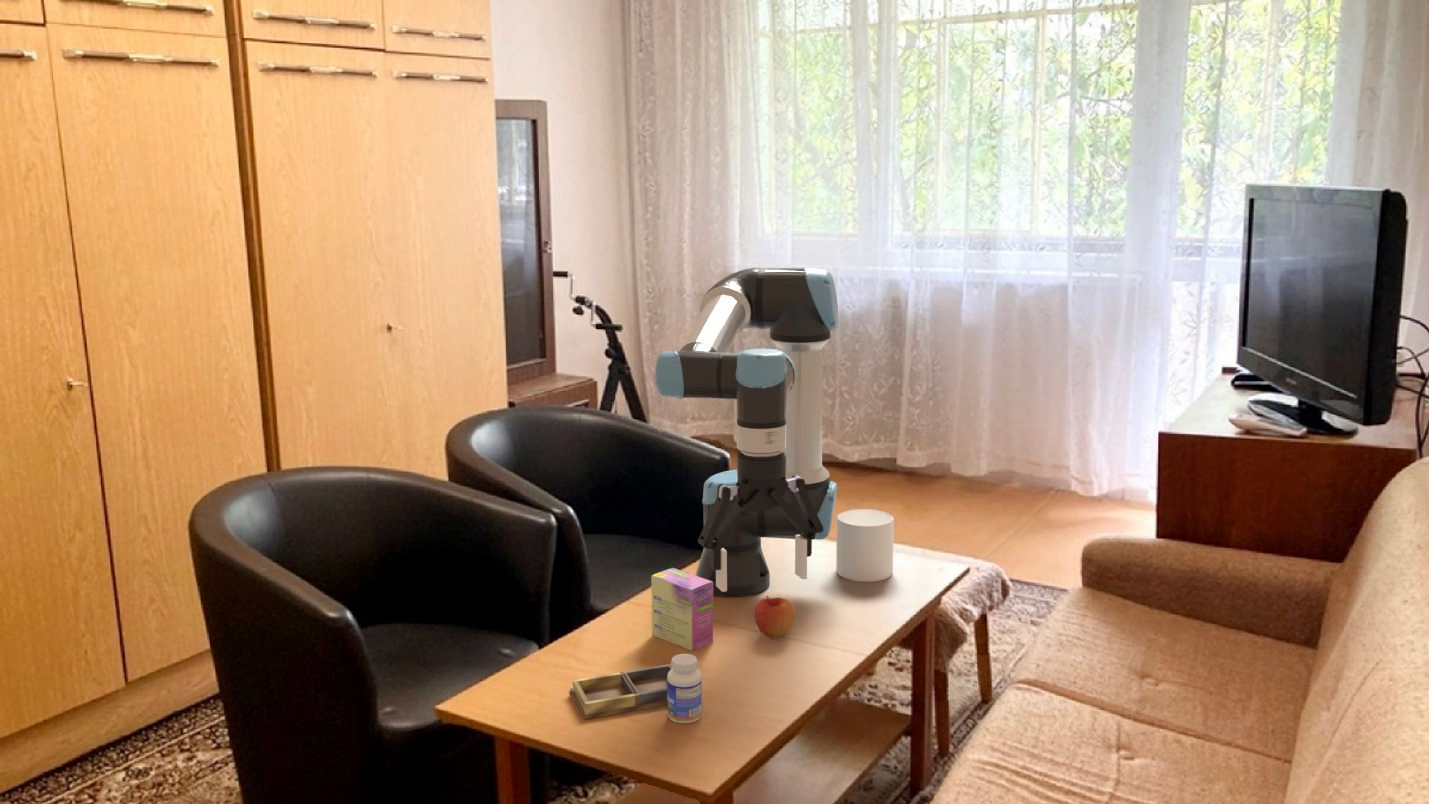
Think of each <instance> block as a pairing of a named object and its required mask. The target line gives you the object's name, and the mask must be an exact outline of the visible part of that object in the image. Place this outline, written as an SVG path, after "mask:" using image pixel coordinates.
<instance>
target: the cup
mask: <svg viewBox="0 0 1429 804" xmlns="http://www.w3.org/2000/svg"><path fill="white" fill-rule="evenodd" d="M894 524H895V518H894V517H893V515H892V514H890V513H889V512H887V511H882V510H877V509H871V508H857V509H849V510H845V511H841V512H840V513H839V514H838V515H837V516H836V563H835V566H836V568H835V569H836V573H837V575H839V576H840V577H842V578H843V579H846V580H848V581H854V582H859V583H860V582H861V583H875V582H880V581H884V580H887V579H888V578H891V576H892V575H893V570H894V530H895V529H894V528H895V526H894Z"/></svg>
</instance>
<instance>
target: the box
mask: <svg viewBox="0 0 1429 804" xmlns="http://www.w3.org/2000/svg"><path fill="white" fill-rule="evenodd" d="M650 578H651V579H650V580H651V624H652V625H651V629H652V630H651V633H652V636H654V637H656V638H659V639H661V640H664V641H667V642H669V643H671V644H674V645H677V646H680V647H682V648H684V649H686V650H688V651H691V652H694V651H697V650H699V649H701V648H703V647H705V646H708V645H710V644H712V643H713V642H714V595H713V581H710V580H707V579H704V578H701V577H698V576H696V574H695V575H694V574H692V573H688V572H685V571H682V570H680V569H678V568H675V567H670V568H668V569H665V570H662V571H660V572H657V573H654V574H652V575H651V577H650Z"/></svg>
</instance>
